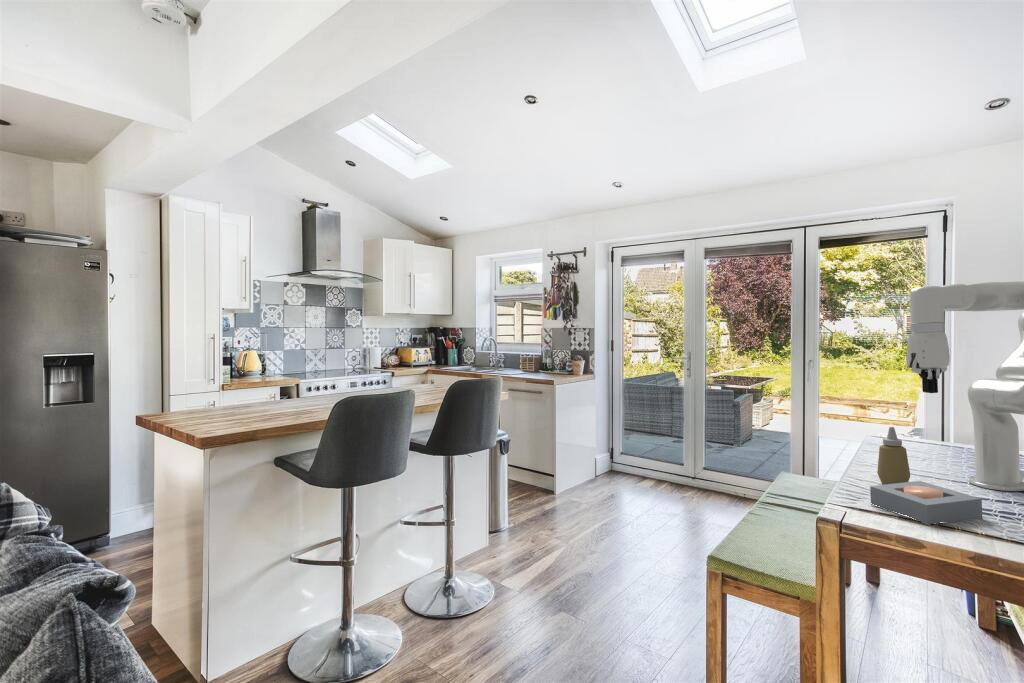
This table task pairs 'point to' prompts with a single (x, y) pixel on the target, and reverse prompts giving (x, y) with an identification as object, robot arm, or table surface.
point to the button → (923, 492)
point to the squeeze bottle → (893, 460)
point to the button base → (927, 503)
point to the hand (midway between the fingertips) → (930, 392)
